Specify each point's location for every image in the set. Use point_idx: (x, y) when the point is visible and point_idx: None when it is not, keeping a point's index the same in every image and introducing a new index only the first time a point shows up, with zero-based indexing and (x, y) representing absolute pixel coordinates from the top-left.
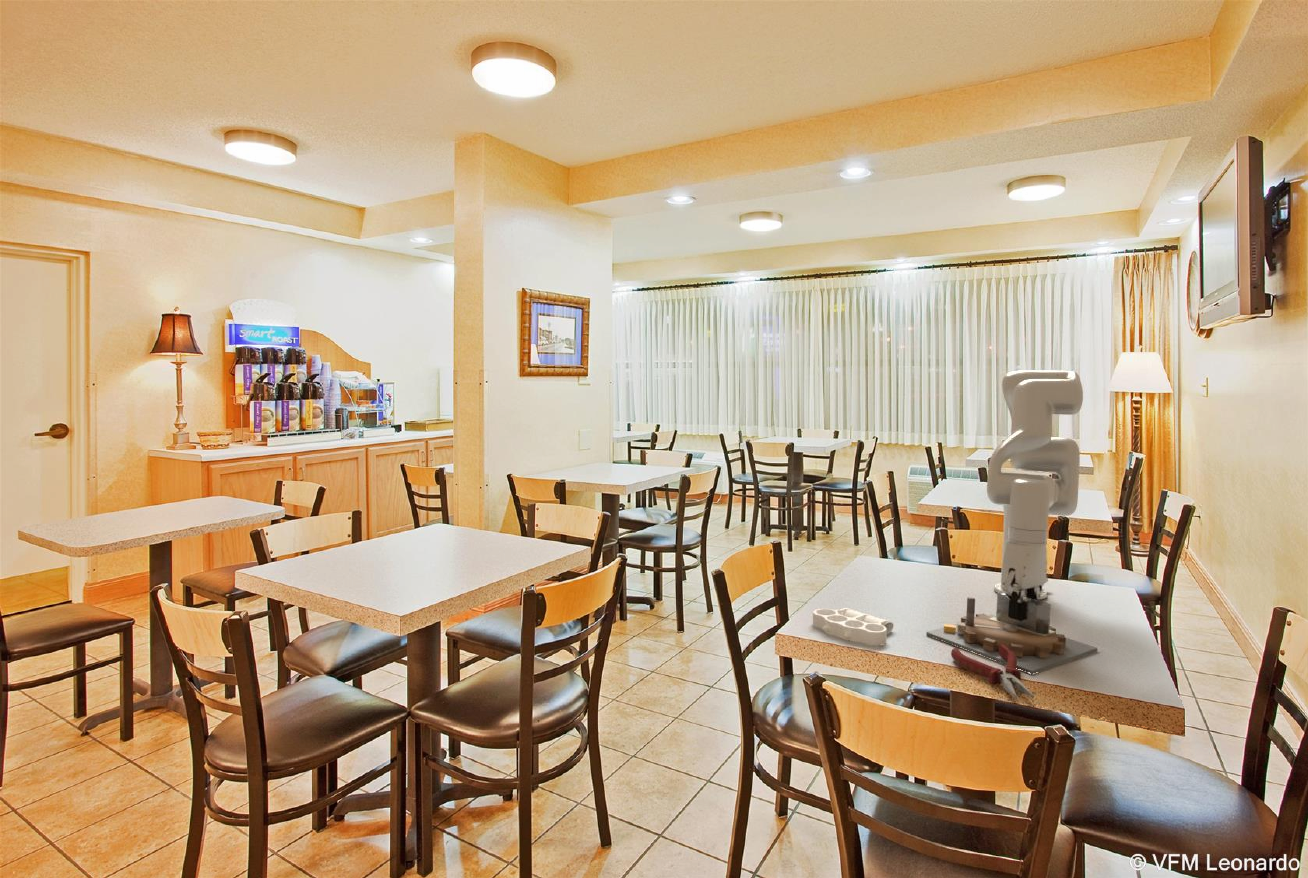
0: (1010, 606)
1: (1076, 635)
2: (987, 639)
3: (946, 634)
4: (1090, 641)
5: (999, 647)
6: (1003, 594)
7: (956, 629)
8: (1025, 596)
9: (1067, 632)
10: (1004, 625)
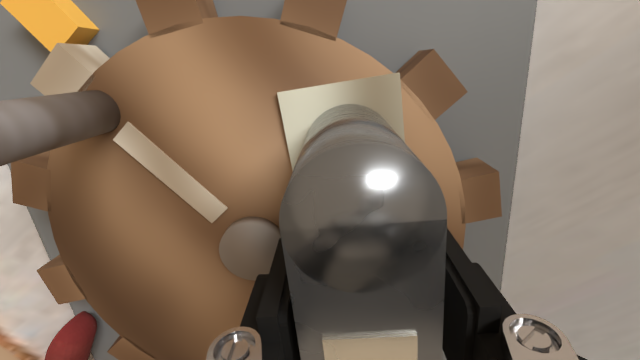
0: (246, 308)
1: (605, 269)
2: (54, 277)
3: (17, 51)
4: (573, 321)
5: (62, 329)
6: (319, 226)
7: (118, 16)
8: (480, 324)
9: (616, 236)
10: (242, 227)
